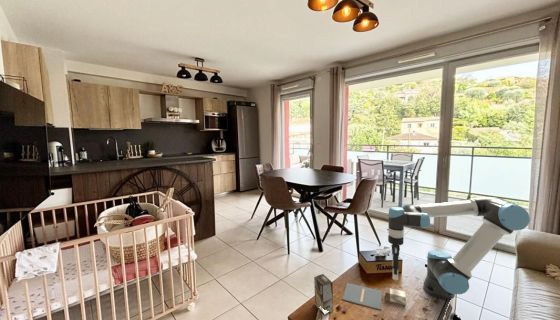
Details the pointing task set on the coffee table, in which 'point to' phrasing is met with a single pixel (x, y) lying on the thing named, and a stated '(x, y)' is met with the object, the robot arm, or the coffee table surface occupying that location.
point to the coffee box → (323, 292)
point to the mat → (363, 296)
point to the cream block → (395, 296)
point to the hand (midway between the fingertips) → (395, 272)
